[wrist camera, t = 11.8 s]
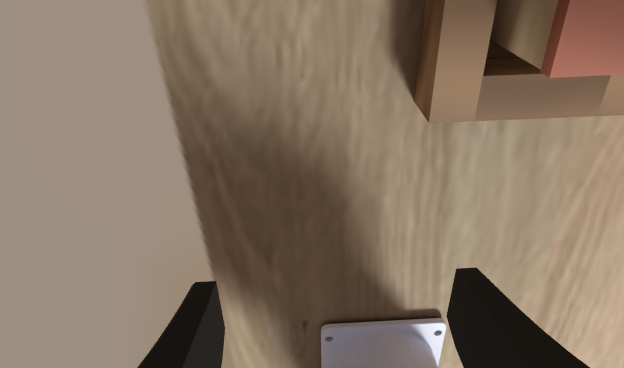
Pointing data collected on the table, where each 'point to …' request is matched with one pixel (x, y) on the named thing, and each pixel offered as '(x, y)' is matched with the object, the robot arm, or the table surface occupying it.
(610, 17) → the pink-ended wooden beam
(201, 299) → the robot arm
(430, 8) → the wooden square frame
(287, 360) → the table surface
